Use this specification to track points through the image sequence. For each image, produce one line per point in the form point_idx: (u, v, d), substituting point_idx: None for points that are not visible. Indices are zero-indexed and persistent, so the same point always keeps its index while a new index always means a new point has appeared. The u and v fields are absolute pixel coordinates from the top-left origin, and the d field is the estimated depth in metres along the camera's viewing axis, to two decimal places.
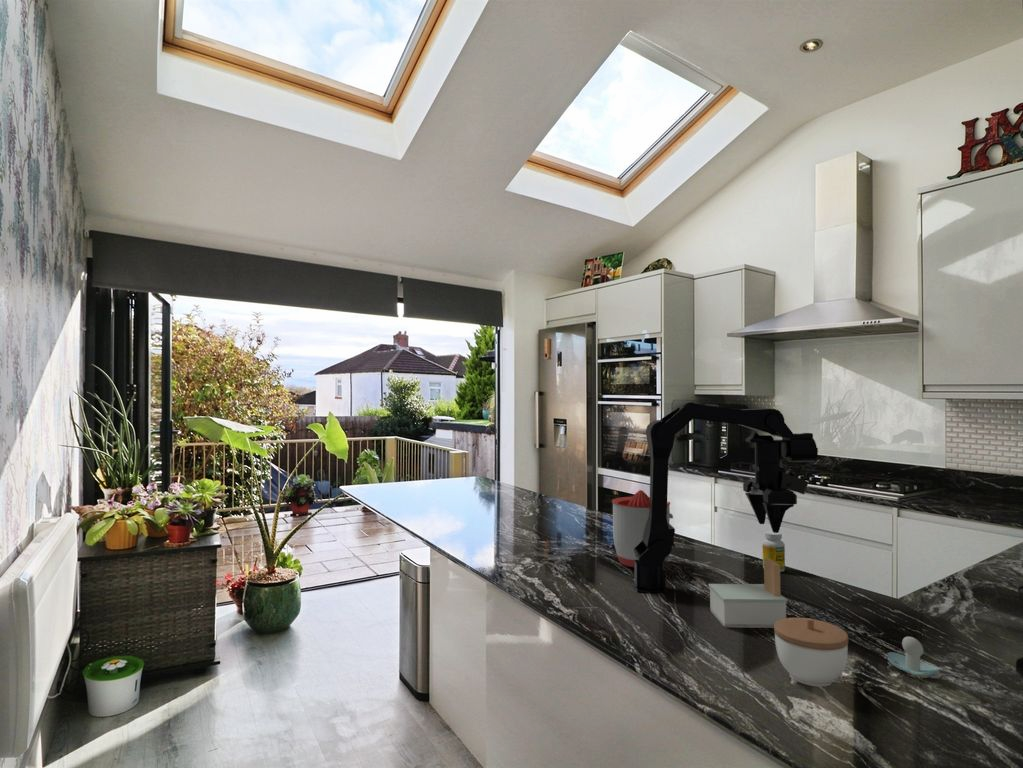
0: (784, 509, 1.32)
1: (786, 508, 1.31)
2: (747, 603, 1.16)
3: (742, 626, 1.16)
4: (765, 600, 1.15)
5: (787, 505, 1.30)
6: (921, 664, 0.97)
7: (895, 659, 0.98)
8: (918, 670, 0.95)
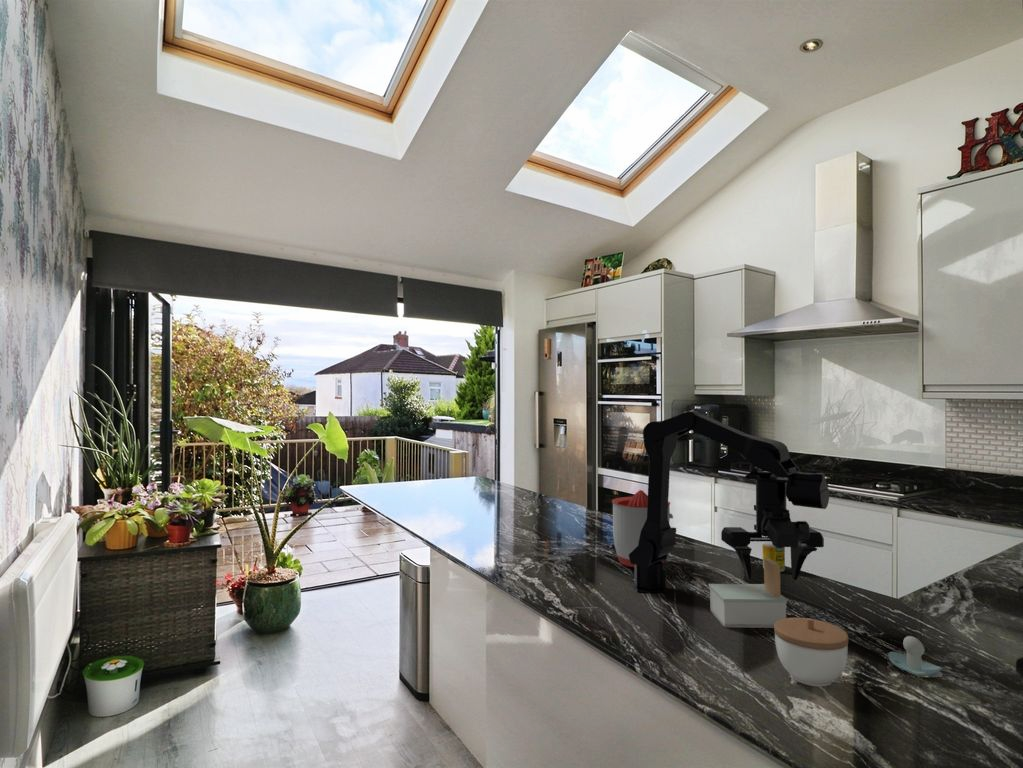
0: None
1: None
2: (747, 603, 1.16)
3: (742, 626, 1.16)
4: (765, 600, 1.15)
5: (734, 547, 1.19)
6: (922, 664, 0.97)
7: (896, 659, 0.98)
8: (919, 670, 0.95)
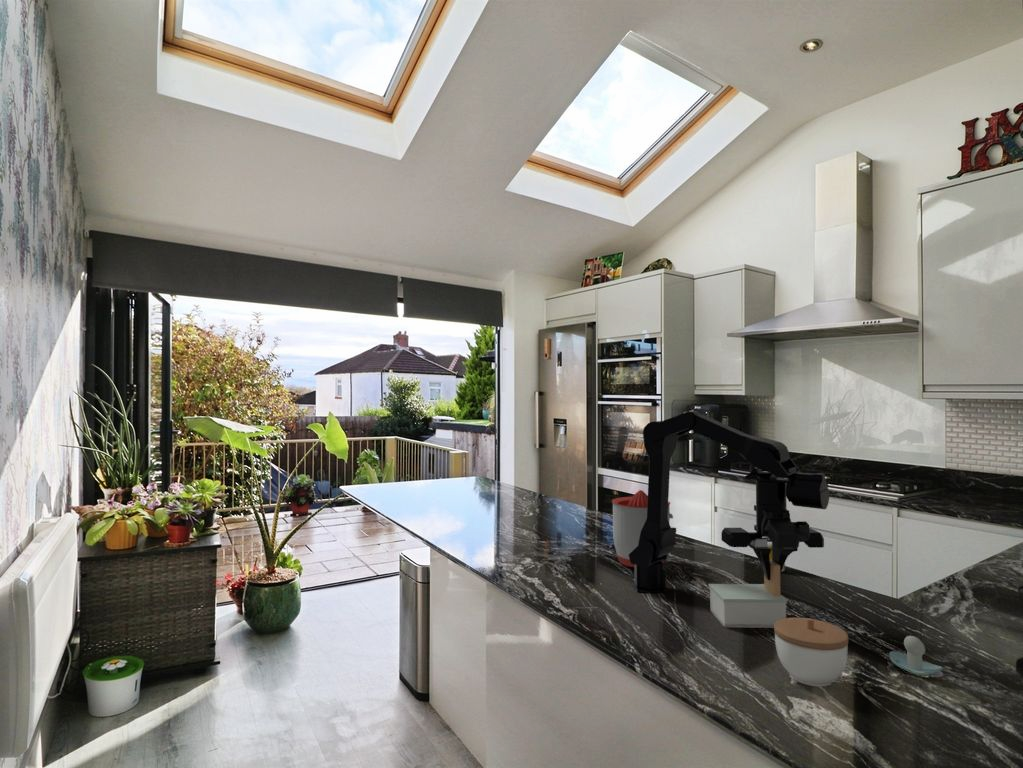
0: (761, 553, 1.19)
1: None
2: (747, 603, 1.16)
3: (742, 626, 1.16)
4: (765, 600, 1.15)
5: (753, 547, 1.19)
6: (922, 663, 0.97)
7: (897, 658, 0.99)
8: (920, 669, 0.96)
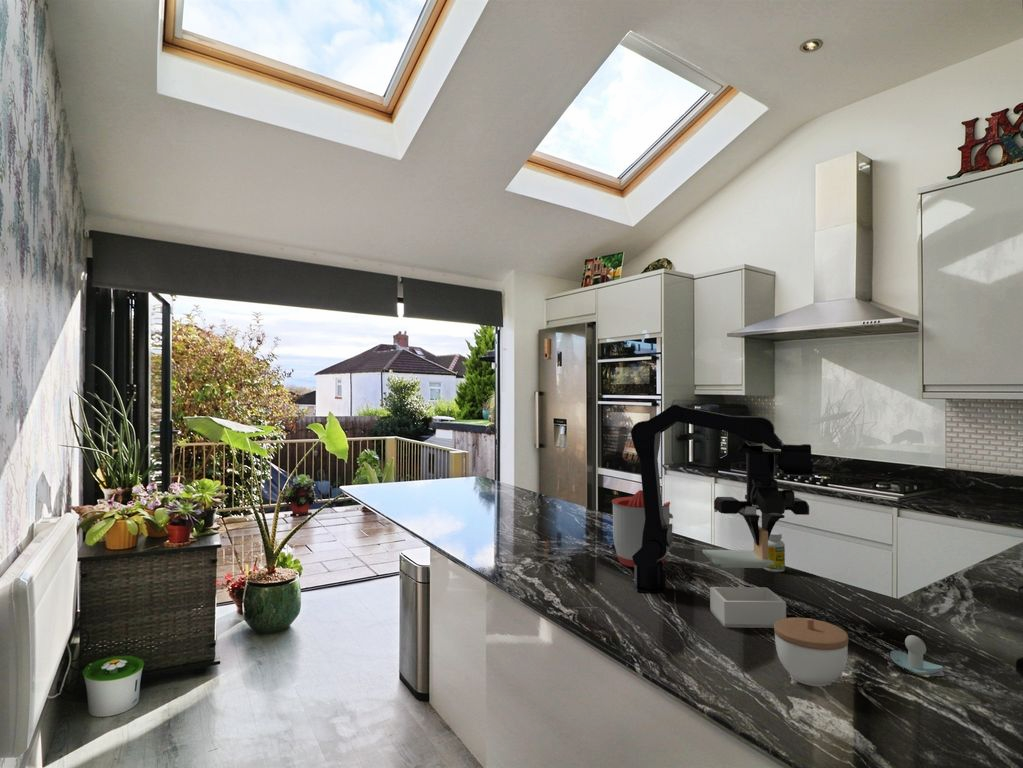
0: (750, 520, 1.28)
1: None
2: (747, 603, 1.16)
3: (742, 626, 1.16)
4: (753, 562, 1.24)
5: (743, 514, 1.28)
6: (923, 663, 0.98)
7: (898, 657, 0.99)
8: (921, 668, 0.96)
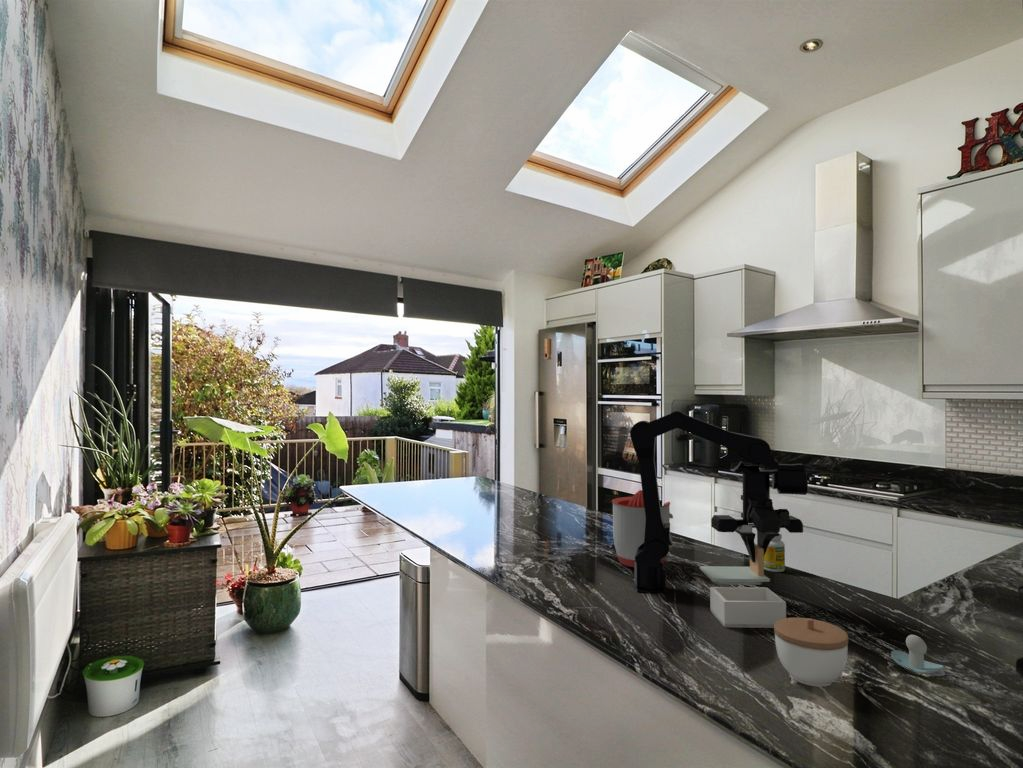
0: None
1: None
2: (747, 603, 1.16)
3: (742, 626, 1.16)
4: (750, 579, 1.28)
5: (740, 533, 1.32)
6: (924, 662, 0.98)
7: (899, 657, 0.99)
8: (922, 668, 0.96)
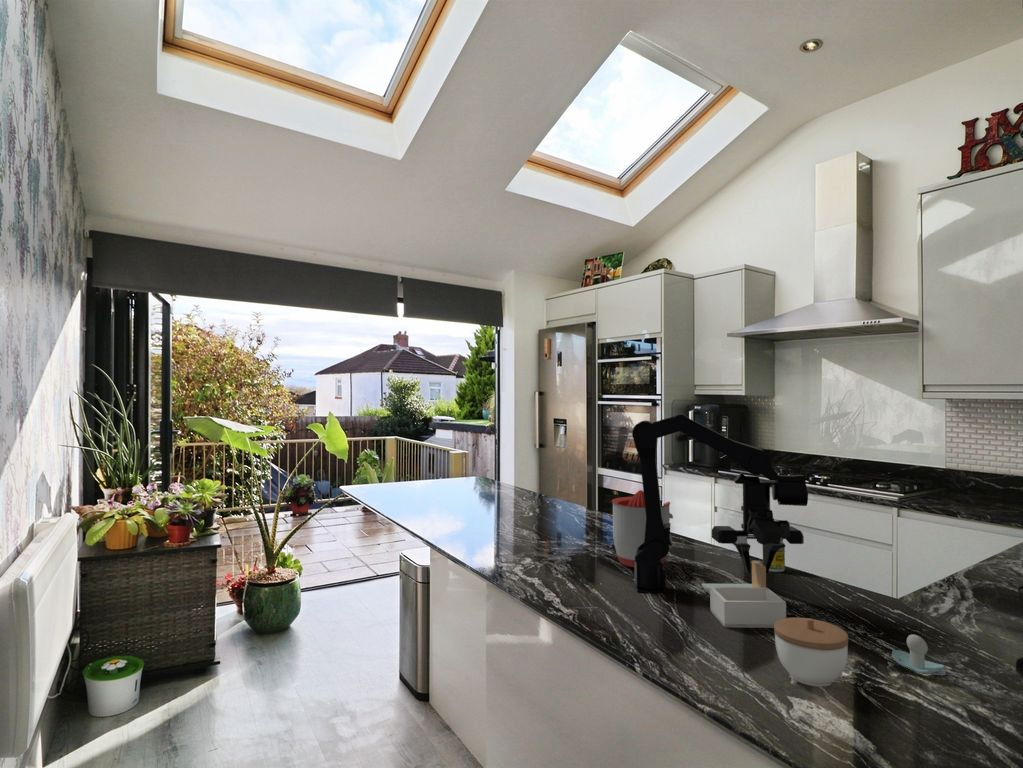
0: None
1: None
2: (747, 603, 1.16)
3: (742, 626, 1.16)
4: None
5: (735, 544, 1.32)
6: (925, 662, 0.98)
7: (899, 657, 0.99)
8: (922, 668, 0.96)
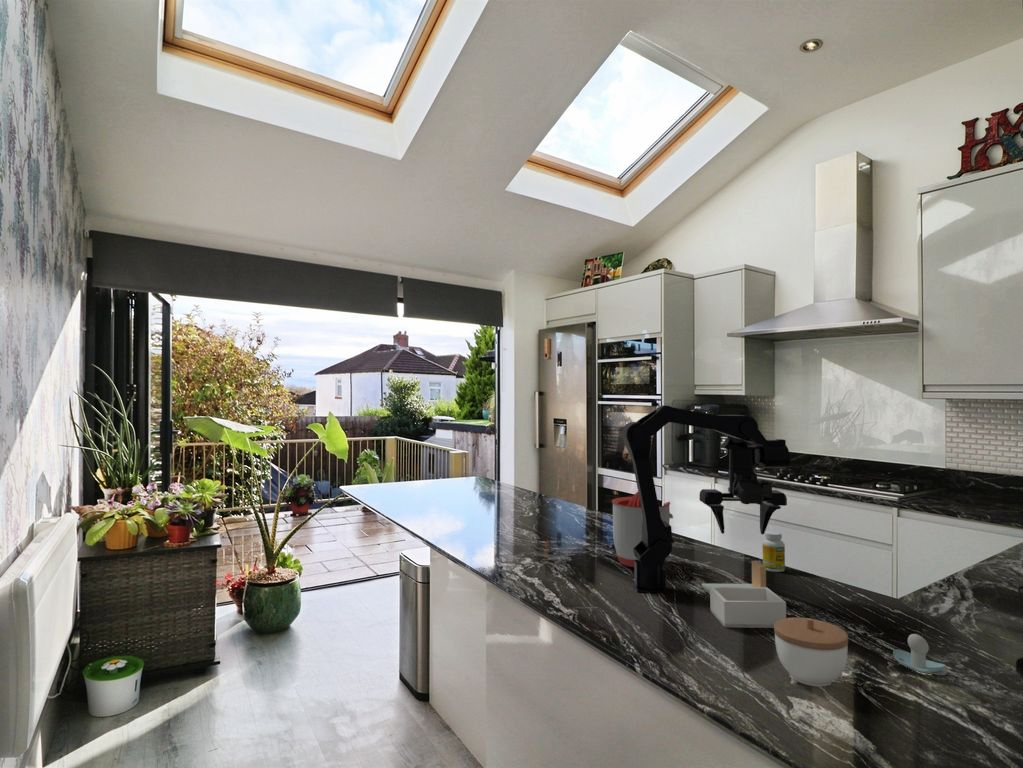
0: (715, 510, 1.39)
1: None
2: (747, 603, 1.16)
3: (742, 626, 1.16)
4: None
5: (709, 505, 1.39)
6: (926, 661, 0.98)
7: (901, 656, 0.99)
8: (923, 667, 0.96)
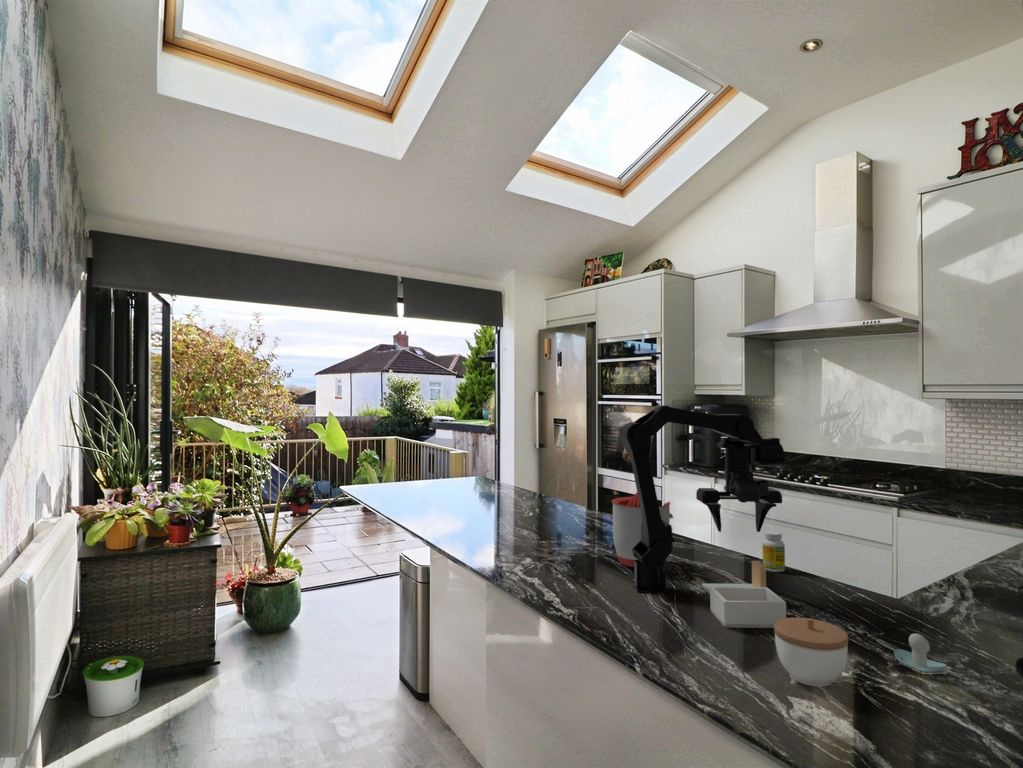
0: (713, 508, 1.40)
1: None
2: (747, 603, 1.16)
3: (742, 626, 1.16)
4: None
5: (706, 504, 1.40)
6: (927, 661, 0.98)
7: (902, 656, 0.99)
8: (924, 667, 0.96)
